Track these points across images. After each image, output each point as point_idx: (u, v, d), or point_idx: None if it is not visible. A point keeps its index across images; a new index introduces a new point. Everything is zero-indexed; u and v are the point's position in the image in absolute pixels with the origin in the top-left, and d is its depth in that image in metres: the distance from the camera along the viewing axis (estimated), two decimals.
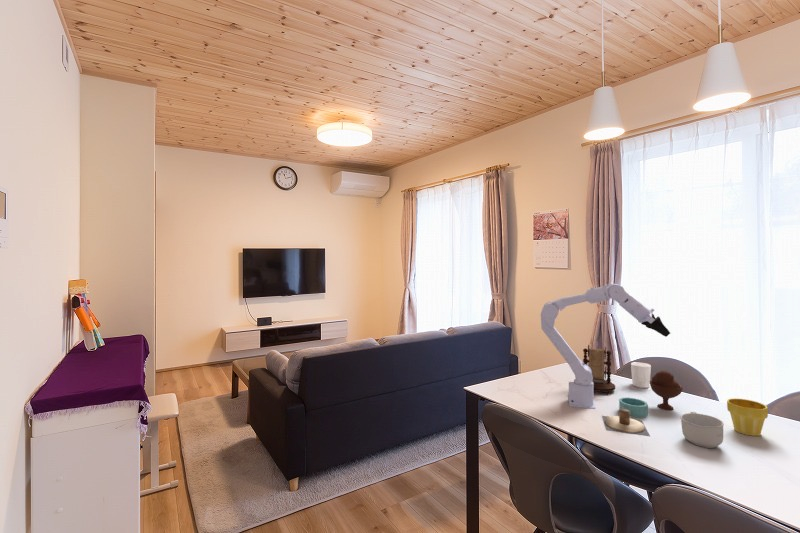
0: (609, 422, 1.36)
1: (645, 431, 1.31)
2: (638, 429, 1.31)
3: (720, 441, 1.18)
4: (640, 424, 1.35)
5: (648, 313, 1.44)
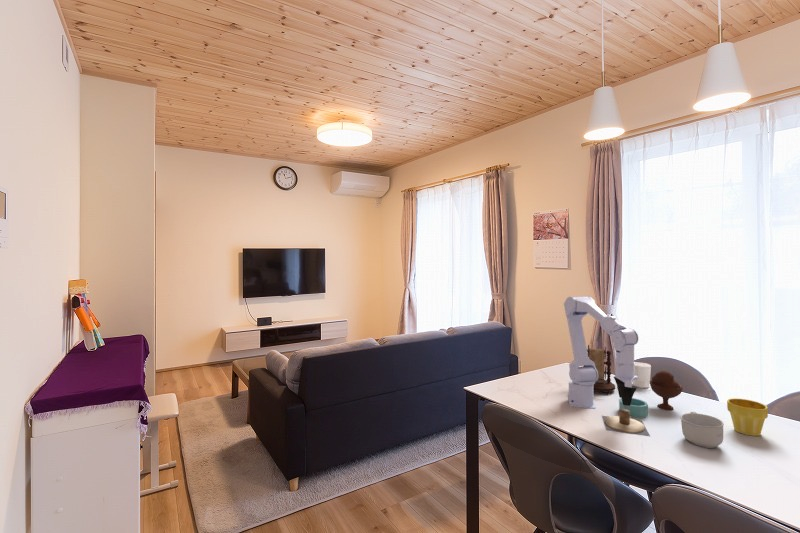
0: (609, 422, 1.36)
1: (645, 431, 1.31)
2: (638, 429, 1.31)
3: (720, 441, 1.18)
4: (640, 424, 1.35)
5: (630, 377, 1.33)
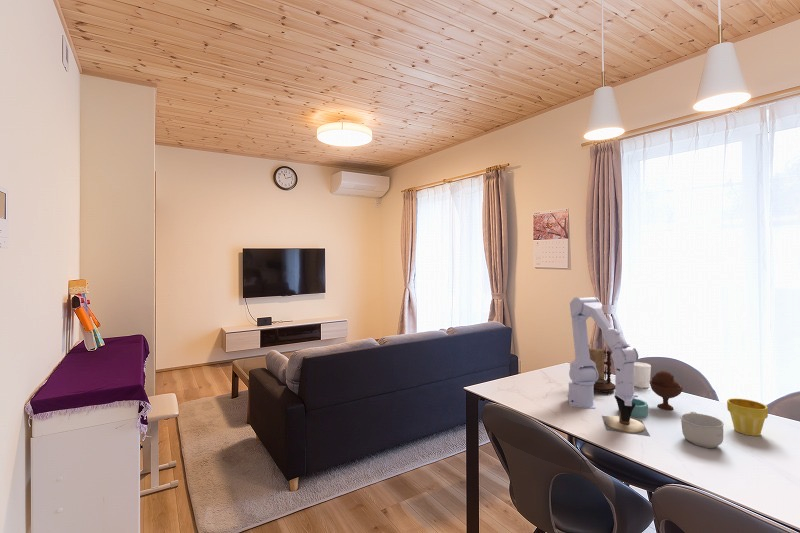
0: (609, 422, 1.36)
1: (645, 431, 1.31)
2: (638, 429, 1.31)
3: (720, 441, 1.18)
4: (640, 424, 1.35)
5: (630, 395, 1.33)
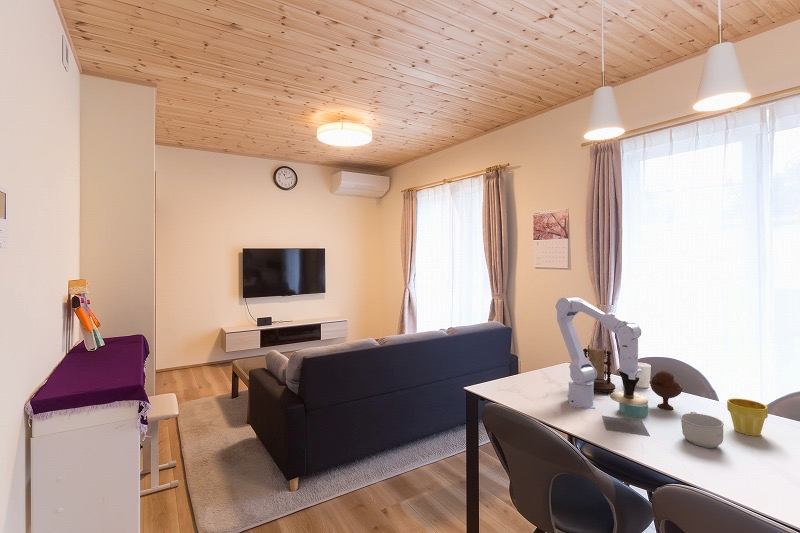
0: (614, 396, 1.42)
1: (645, 431, 1.31)
2: (642, 402, 1.36)
3: (720, 441, 1.18)
4: (644, 398, 1.40)
5: (634, 370, 1.38)
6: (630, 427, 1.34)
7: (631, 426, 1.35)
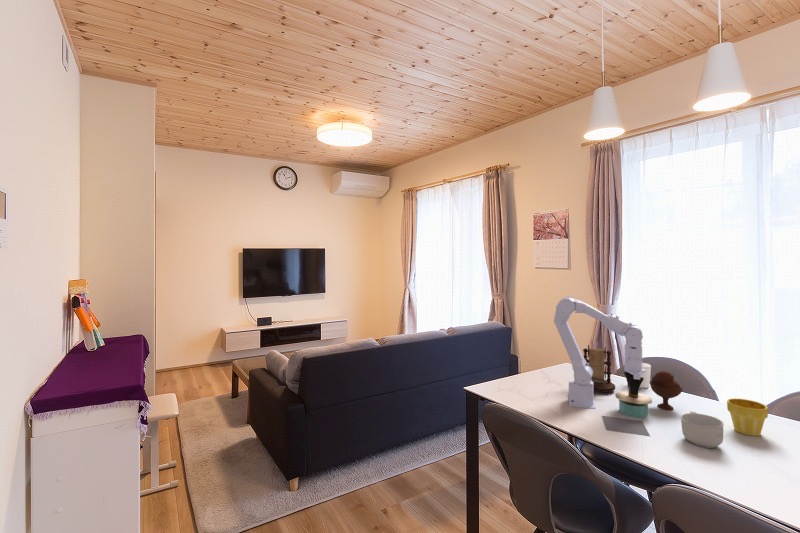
0: (619, 396, 1.47)
1: (645, 431, 1.31)
2: (646, 401, 1.42)
3: (720, 441, 1.18)
4: (648, 397, 1.46)
5: (639, 370, 1.44)
6: (630, 427, 1.34)
7: (631, 426, 1.35)
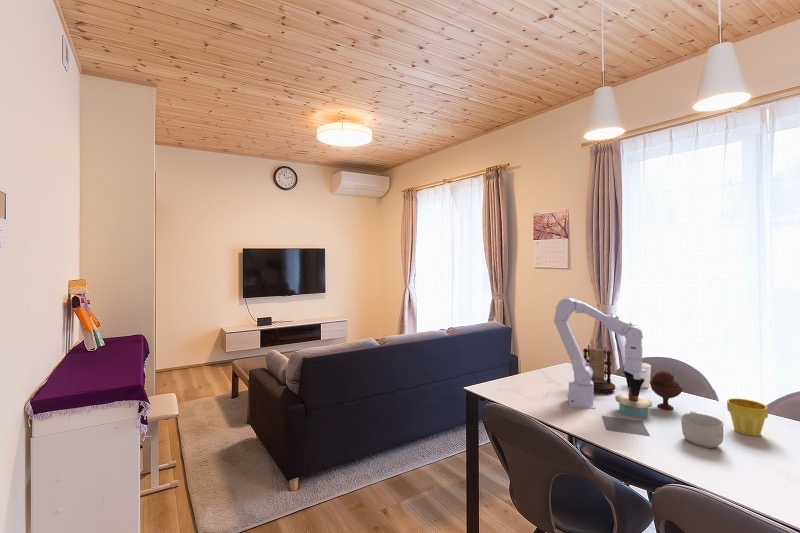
0: (619, 399, 1.47)
1: (645, 431, 1.31)
2: (646, 404, 1.42)
3: (720, 441, 1.18)
4: (648, 400, 1.46)
5: (639, 370, 1.44)
6: (630, 427, 1.34)
7: (631, 426, 1.35)
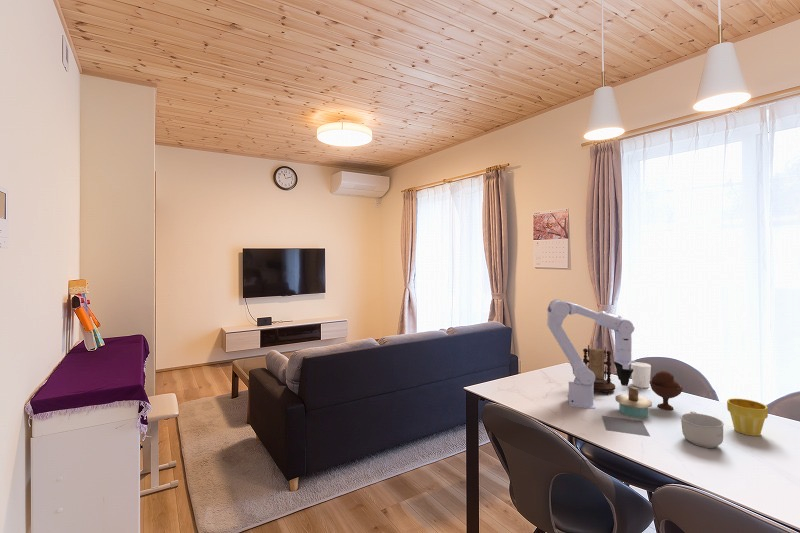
0: (619, 399, 1.47)
1: (645, 431, 1.31)
2: (646, 404, 1.42)
3: (720, 441, 1.18)
4: (648, 400, 1.46)
5: (628, 361, 1.50)
6: (630, 427, 1.34)
7: (631, 426, 1.35)
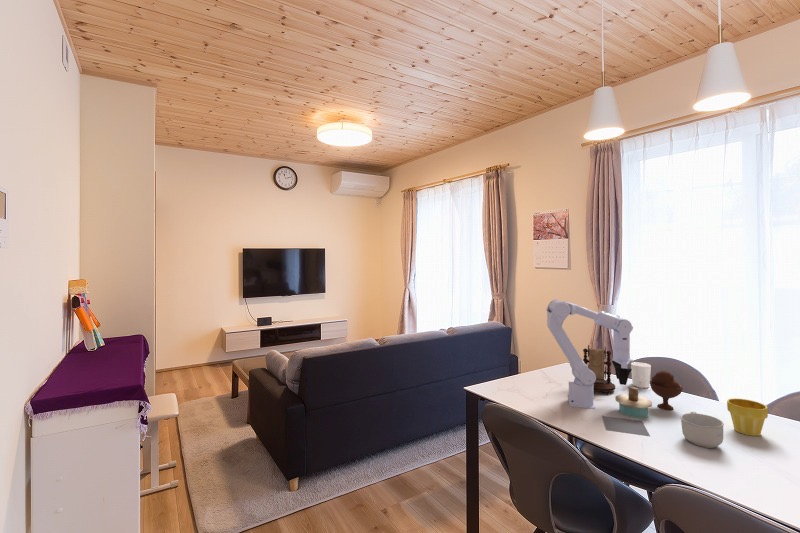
0: (619, 399, 1.47)
1: (645, 431, 1.31)
2: (646, 404, 1.42)
3: (720, 441, 1.18)
4: (648, 400, 1.46)
5: (626, 360, 1.51)
6: (630, 427, 1.34)
7: (631, 426, 1.35)
